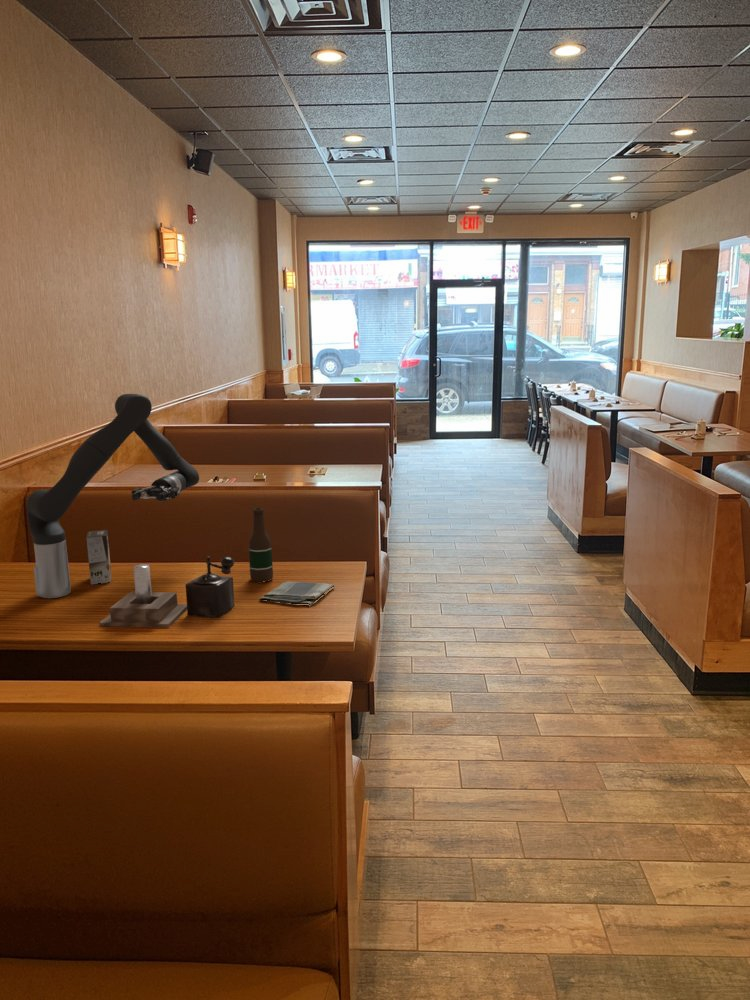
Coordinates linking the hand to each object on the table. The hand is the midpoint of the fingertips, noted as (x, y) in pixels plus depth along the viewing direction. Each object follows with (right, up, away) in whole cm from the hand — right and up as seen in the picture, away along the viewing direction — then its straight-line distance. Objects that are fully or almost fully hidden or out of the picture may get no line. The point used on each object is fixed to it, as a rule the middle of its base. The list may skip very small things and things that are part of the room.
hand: (147, 497), depth 236 cm
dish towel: (+47, -31, -2) cm, 56 cm away
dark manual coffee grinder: (+25, -34, -15) cm, 45 cm away
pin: (+5, -33, -18) cm, 38 cm away
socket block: (+5, -34, -18) cm, 39 cm away
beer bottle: (+34, -27, +14) cm, 46 cm away
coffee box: (-20, -28, +17) cm, 38 cm away
